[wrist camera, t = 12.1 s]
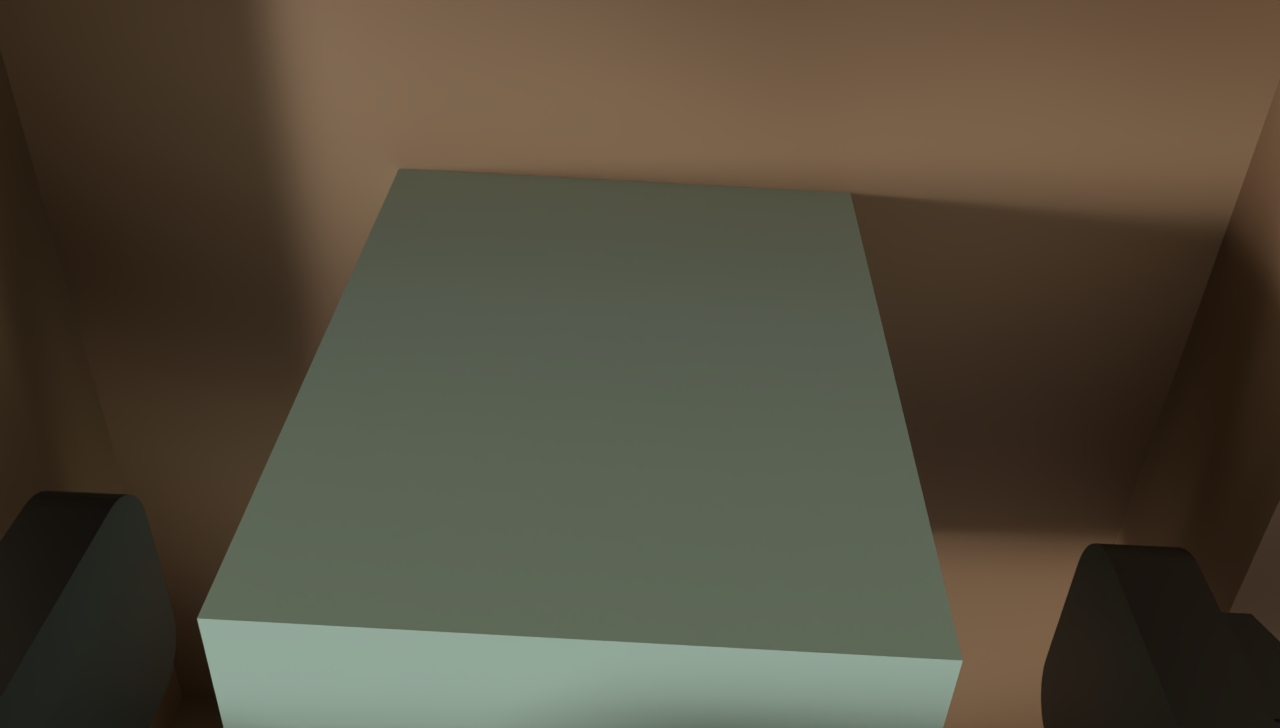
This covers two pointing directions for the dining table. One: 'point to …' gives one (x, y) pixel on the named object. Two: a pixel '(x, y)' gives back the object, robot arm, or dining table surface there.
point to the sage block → (591, 477)
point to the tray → (683, 154)
